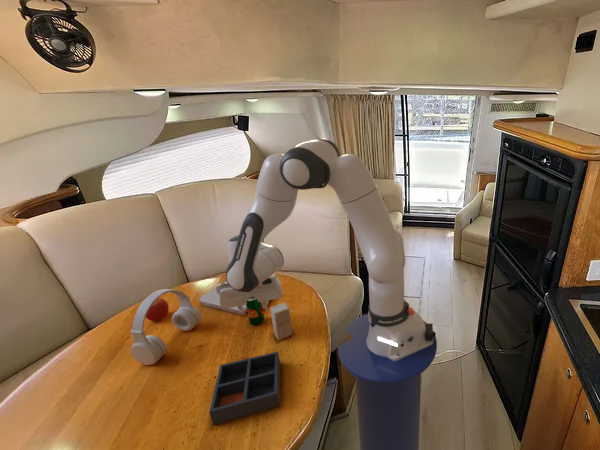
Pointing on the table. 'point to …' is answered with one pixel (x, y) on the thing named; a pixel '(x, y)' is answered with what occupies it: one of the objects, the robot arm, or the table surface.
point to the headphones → (152, 346)
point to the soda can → (255, 311)
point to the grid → (246, 388)
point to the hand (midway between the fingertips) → (255, 311)
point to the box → (281, 321)
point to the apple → (158, 310)
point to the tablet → (213, 301)
